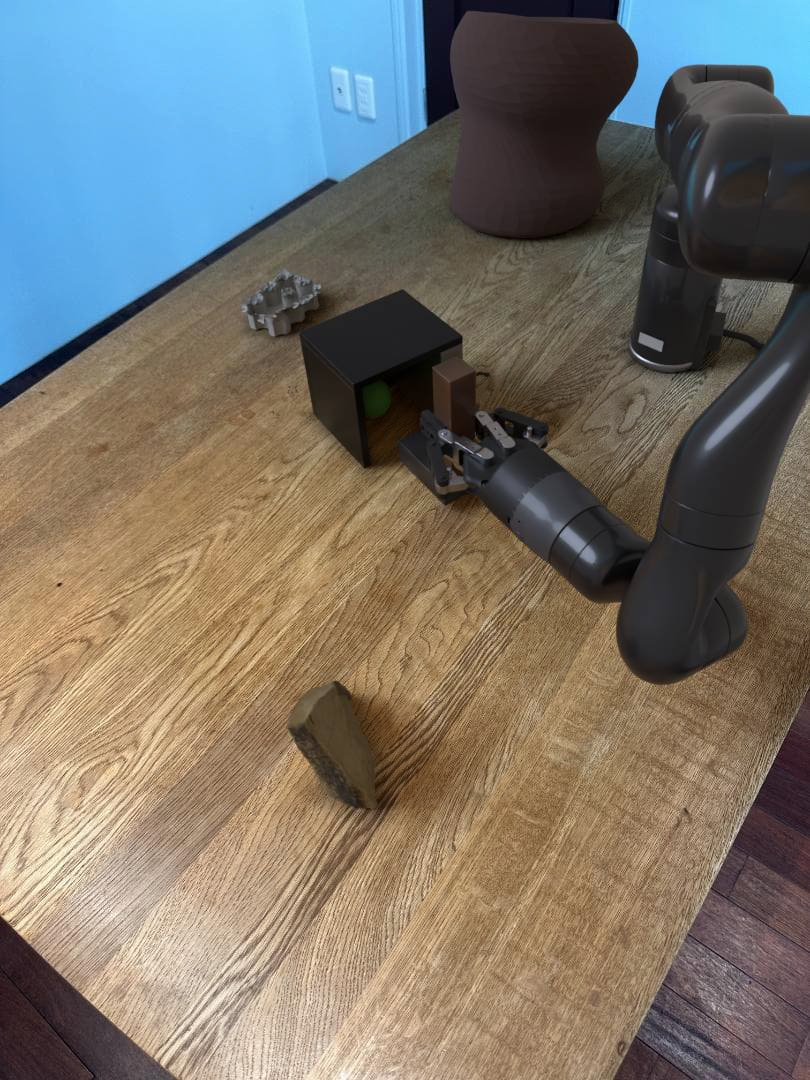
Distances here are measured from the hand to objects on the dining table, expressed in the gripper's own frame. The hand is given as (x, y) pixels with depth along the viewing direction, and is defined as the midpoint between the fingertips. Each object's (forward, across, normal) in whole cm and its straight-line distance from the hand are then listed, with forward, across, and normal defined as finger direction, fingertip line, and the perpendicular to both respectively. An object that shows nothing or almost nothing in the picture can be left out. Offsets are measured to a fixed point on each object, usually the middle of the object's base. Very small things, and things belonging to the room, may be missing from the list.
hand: (438, 411), depth 84 cm
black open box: (+13, -1, +10) cm, 16 cm away
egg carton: (+41, -1, +10) cm, 42 cm away
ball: (+15, 0, +7) cm, 16 cm away
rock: (-22, +25, +10) cm, 35 cm away
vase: (+44, -49, +10) cm, 66 cm away
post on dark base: (0, 0, +9) cm, 9 cm away
